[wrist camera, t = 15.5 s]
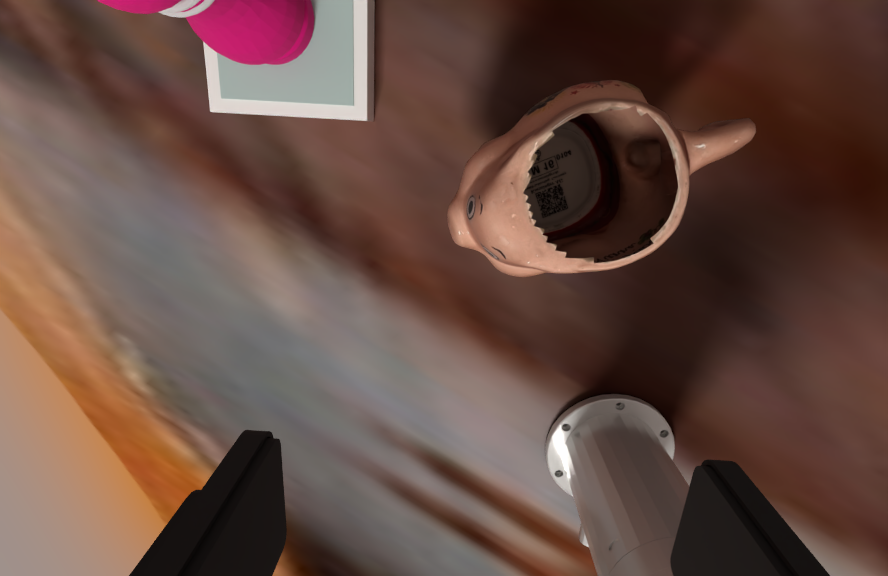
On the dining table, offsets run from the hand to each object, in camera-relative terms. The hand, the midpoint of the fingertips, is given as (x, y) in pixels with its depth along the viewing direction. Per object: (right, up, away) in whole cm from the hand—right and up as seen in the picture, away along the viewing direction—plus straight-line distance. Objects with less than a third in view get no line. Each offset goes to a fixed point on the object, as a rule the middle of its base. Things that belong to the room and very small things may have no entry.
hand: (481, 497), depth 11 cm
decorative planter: (+9, +15, +29) cm, 34 cm away
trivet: (-12, +24, +26) cm, 38 cm away
